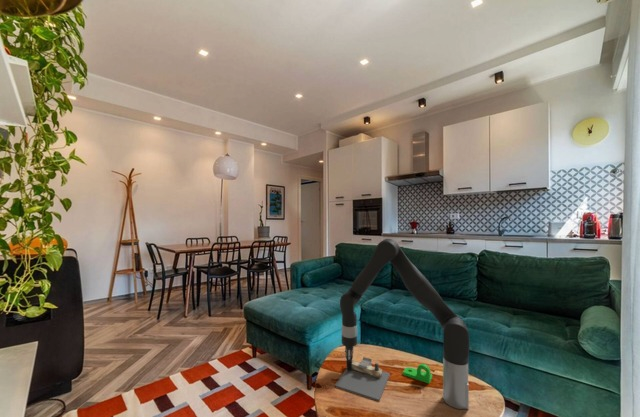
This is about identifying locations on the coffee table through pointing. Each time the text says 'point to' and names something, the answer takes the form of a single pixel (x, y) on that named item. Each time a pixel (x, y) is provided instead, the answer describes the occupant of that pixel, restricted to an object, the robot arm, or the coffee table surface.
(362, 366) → the keeper
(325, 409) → the coffee table surface
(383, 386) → the base plate
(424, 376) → the mechanical part
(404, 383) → the coffee table surface
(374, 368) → the latch bar
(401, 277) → the robot arm
